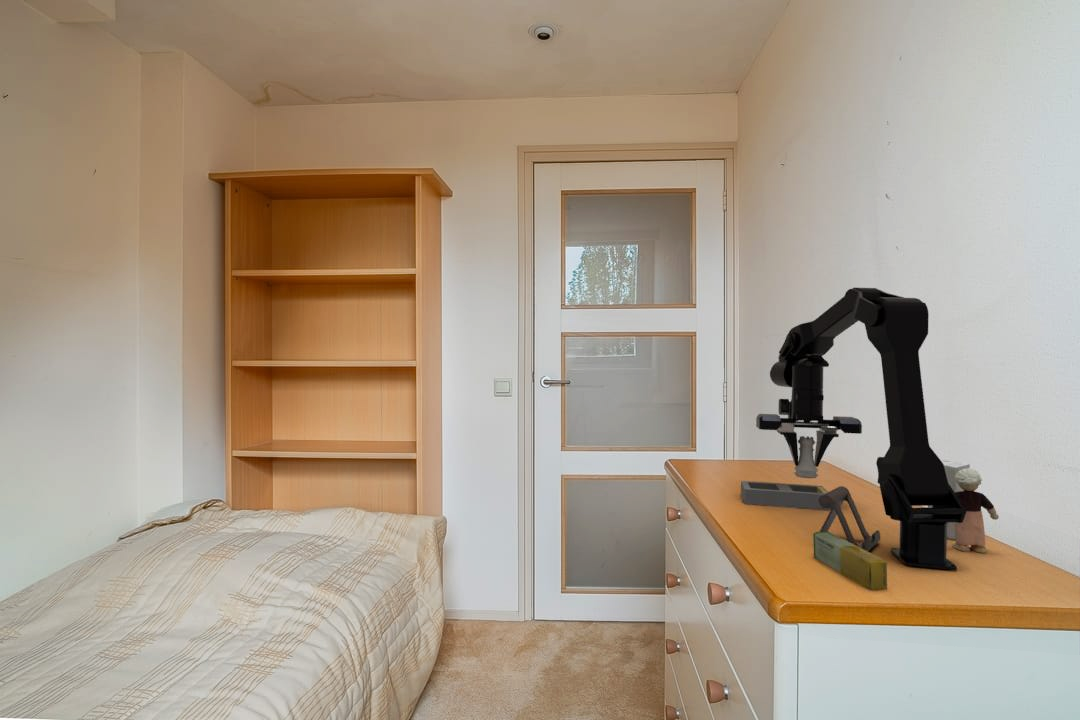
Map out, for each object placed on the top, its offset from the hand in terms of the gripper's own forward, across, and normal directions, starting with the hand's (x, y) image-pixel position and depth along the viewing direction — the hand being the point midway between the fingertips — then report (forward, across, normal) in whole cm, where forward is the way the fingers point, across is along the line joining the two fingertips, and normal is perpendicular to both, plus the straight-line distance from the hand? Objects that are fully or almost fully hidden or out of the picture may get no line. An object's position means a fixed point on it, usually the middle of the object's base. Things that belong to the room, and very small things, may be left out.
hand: (806, 465), depth 114 cm
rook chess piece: (+2, 0, 0) cm, 2 cm away
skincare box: (+8, -20, +14) cm, 25 cm away
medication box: (+8, +2, +38) cm, 39 cm away
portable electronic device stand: (+8, -1, +25) cm, 26 cm away
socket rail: (+8, +4, 0) cm, 9 cm away
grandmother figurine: (+8, -19, +22) cm, 30 cm away
